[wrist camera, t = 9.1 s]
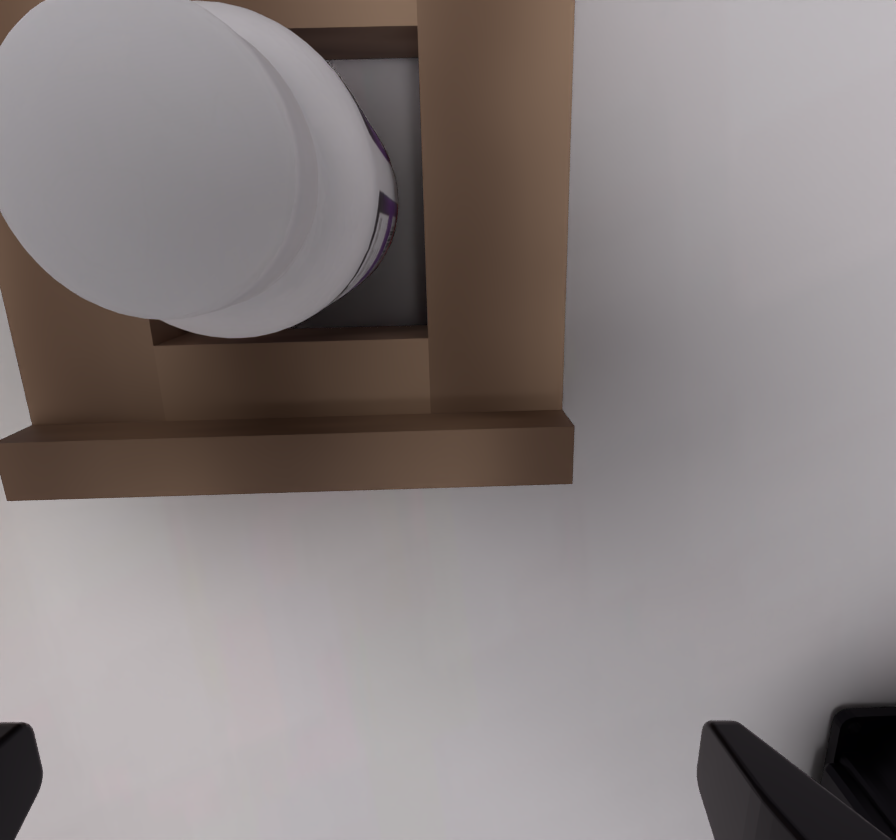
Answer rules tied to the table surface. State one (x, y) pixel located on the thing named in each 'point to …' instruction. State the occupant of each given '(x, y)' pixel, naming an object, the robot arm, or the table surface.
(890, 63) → the table surface
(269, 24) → the pill bottle
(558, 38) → the socket
